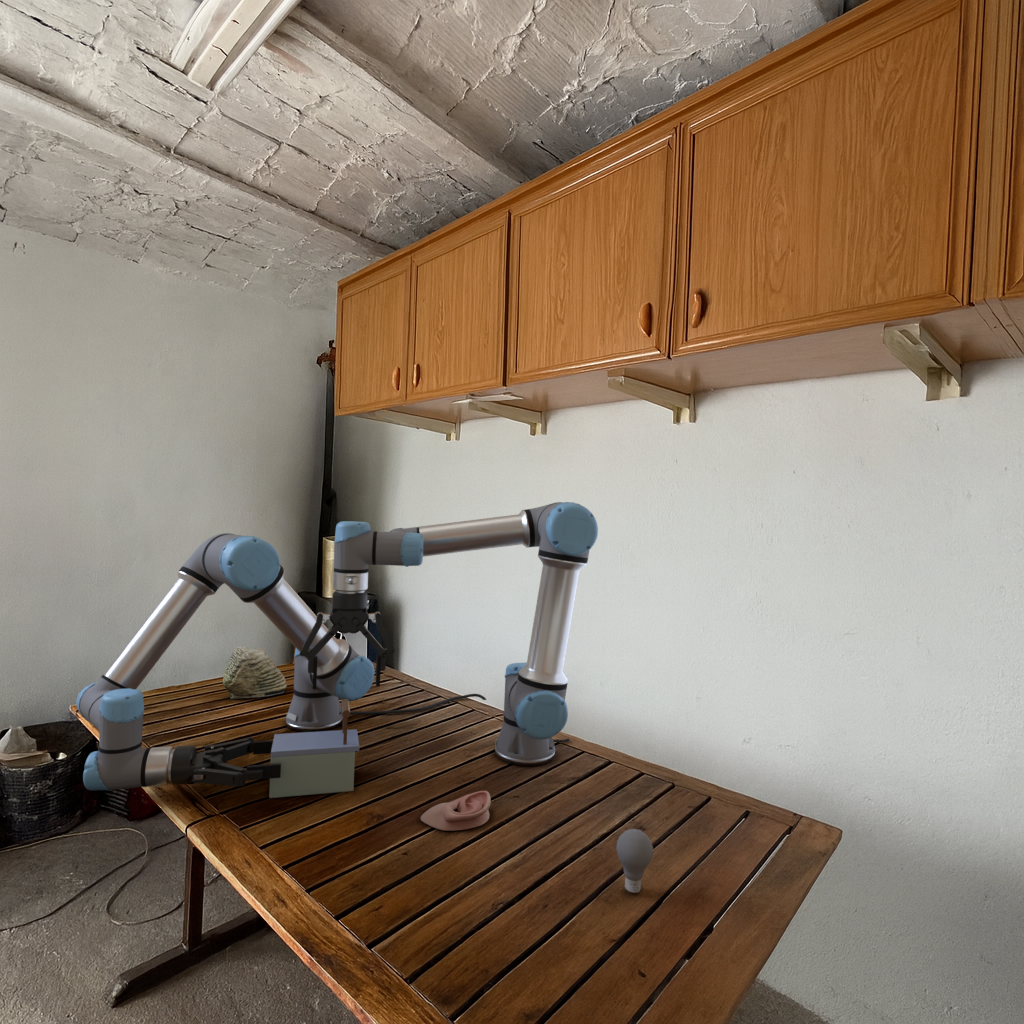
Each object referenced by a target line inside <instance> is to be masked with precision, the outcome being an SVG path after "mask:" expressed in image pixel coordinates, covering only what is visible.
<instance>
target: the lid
mask: <svg viewBox="0 0 1024 1024" xmlns="http://www.w3.org/2000/svg"><path fill="white" fill-rule="evenodd" d="M340 706H341V709H342V716H343V722H342V729H339V730H325V731H318V732H288V733H274V735H273V745H272V750H271V754H270V758H271V757H279V756H294V755H308V754H323V753H338V752H352V751H355V752H359V751H360V740H359V735H358V729H357V728H356V729H354V728H353V729H348V722H349V721H348V719H349V718H350V717H351V715H350V712H351V706H350V701H348V700H347V699H343V700H341V701H340Z"/></svg>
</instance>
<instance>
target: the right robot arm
mask: <svg viewBox="0 0 1024 1024" xmlns="http://www.w3.org/2000/svg"><path fill="white" fill-rule="evenodd" d="M598 535H599V526H598V522H597V520H596V517H595V516H594V514H593V512H592V511H590V509H588V508H587V507H585V506H583V505H581V504H580V503H577V502H574V501H573V502H571V501H570V502H569V501H565V502H562V501H558V502H553V503H548V504H545V505H541V506H537V507H534V508H528V509H527V508H526V509H521V510H520V512H519V513H518V514H510V515H503V516H502V515H501V516H495V517H487V518H478V519H469V520H462V521H454V522H445V523H437V524H429V525H428V524H427V525H422V526H421V525H420V526H414V527H406V528H403V527H398V528H393V529H392V530H389V531H376V530H375V531H374V530H372V528H371V524H370V523H369V522H367V521H353V520H352V521H351V520H349V521H347V520H346V521H345V520H344V521H339V522H338V523H336V526H335V533H334V541H333V574H332V577H333V578H332V589H333V590H334V591H333V592H332V601H331V611H330V613H323V612H322V611H318V612H317V614H316V616H317V620H316V623H315V625H314V626H313V628H312V630H311V632H310V634H309V635H308V637H307V639H306V641H305V643H304V644H303V646H302V648H301V650H300V656H304V657H307V658H308V673H313V689H316V684H317V657H318V656H316V655H317V654H318V652H319V651H320V650H321V649H322V648H323V647H324V646H325V645H326V644H327V643H328V641H329V640H330V639H331V638H332V637H333V636H334V637H335V636H336V635H337V633H339V634H342V635H343V634H352V635H353V634H357V633H359V632H360V633H361V634H362V635H363V636H364V638H366V640H367V641H368V642H369V643H370V645H371V646H372V647H373V648H374V649H375V650H376V651H377V653H378V654H376V657H375V659H376V660H375V662H376V663H375V686H376V687H378V688H379V687H381V671H386V667H387V657H388V656H389V655H392V654H394V653H395V648H394V646H393V644H392V642H391V640H390V637H389V636H388V633H387V631H386V629H385V627H384V625H383V623H382V614H381V612H380V611H378V610H377V611H375V612H371V613H368V593H367V590H368V589H369V566H372V565H373V566H398V567H406V568H408V567H419V566H421V565H422V564H423V561H424V559H423V558H424V557H433V556H441V555H447V554H457V553H463V552H464V553H465V552H472V551H480V550H488V549H495V548H496V549H497V548H505V547H512V546H521V545H522V546H524V547H525V548H527V549H528V548H537V547H538V553H537V557H538V559H539V560H540V561H541V563H542V568H541V574H540V581H539V588H538V592H537V597H536V598H537V599H536V605H535V611H534V617H533V622H532V624H533V625H532V628H531V629H532V630H531V634H530V635H531V636H530V640H529V641H530V642H529V647H528V654H527V660H526V662H513V663H509V664H507V666H506V668H505V674H504V678H505V679H504V698H503V699H504V701H503V721H502V724H501V728H500V731H499V734H498V736H497V738H496V739H495V743H494V744H495V745H494V754H495V756H496V758H498V759H500V761H502V762H504V763H507V764H511V765H514V766H520V767H521V766H523V767H534V766H541V765H547V764H548V763H551V762H552V761H553V760H554V759H555V757H556V746H555V743H567V742H570V738H569V737H568V738H563V739H557V738H553V737H555V736H556V735H558V734H559V733H560V732H562V730H563V729H564V728H565V726H566V724H567V721H568V717H569V710H568V704H567V702H566V695H567V689H568V682H569V679H568V677H567V676H566V674H565V673H564V667H565V662H566V655H567V649H568V643H569V636H570V632H571V631H570V630H571V625H572V619H573V612H574V606H575V599H576V596H577V595H576V594H577V587H578V582H579V576H580V571H581V570H582V569H583V568H585V567H586V566H587V565H588V562H589V557H590V556H589V555H590V550H591V549H592V548H593V547H594V545H595V544H596V541H597V539H598ZM328 620H329V621H330V622H331V624H332V626H330V628H329V629H328V630H329V631H328V632H327V633H326V634H325V635H324V636H323V637H322V639H321V640H320V641H319V642H318V643H317V644H316V645H315V646H314V647H313V648H312V650H311V651H309V650H308V649H309V647H310V645H311V644H312V642H313V640H314V638H315V636H316V635H317V633H318V631H319V629H320V627H321V625H322V624H324V625H325V624H326V623H327V621H328ZM369 620H371V622H372V623H373V624H375V625H376V627H377V629H378V632H379V633H380V636H381V638H382V640H383V642H384V644H385V648H384V647H383V646H382V645H381V644H380V643H379V641H378V640H377V639H376V638H375V637H374V635H373V634H372V633H371V632H370V631H369V629H368V628H367V627H366V626H365V625H366V623H367V622H368V621H369Z"/></svg>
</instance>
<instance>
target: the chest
mask: <svg viewBox="0 0 1024 1024" xmlns="http://www.w3.org/2000/svg"><path fill="white" fill-rule="evenodd" d="M355 762H356V751H352V752H338V753H323V754H308V755H294V756H279V757H271V756H270V764H279V763H281V777H280V778H272V779H269V792H268V793H269V795H268V798H269V799H276V798H286V797H288V798H289V797H296V796H297V797H298V796H299V797H300V796H310V795H320V794H321V795H322V794H335V793H346V792H353V791H354V787H355V767H356V766H355V765H356V763H355Z"/></svg>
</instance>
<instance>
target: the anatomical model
mask: <svg viewBox="0 0 1024 1024" xmlns="http://www.w3.org/2000/svg"><path fill="white" fill-rule="evenodd" d="M491 799H492V798H491V793H490V792H489V791H488V790H478V791H475V792H472V793H468V794H465V795H463V796H461V797H459V798H457V799H455V800H451V801H449V802H441V803H438V804H436V805H434V806H432V807H430V808H429V809H427V810H426V811H425V812H424V813H423V814H421V816H420V817H419V818H420V821H421V822H423V823H424V824H426V825H428V826H429V827H431V828H434V829H437V830H440V831H443V832H445V831H446V832H449V831H450V832H452V831H464V830H469V829H474V828H477V827H480V826H482V825H485V824H486V823H487V822H488V821H489V820H490V810H489V809H490V807H491V803H492V801H491Z"/></svg>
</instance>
